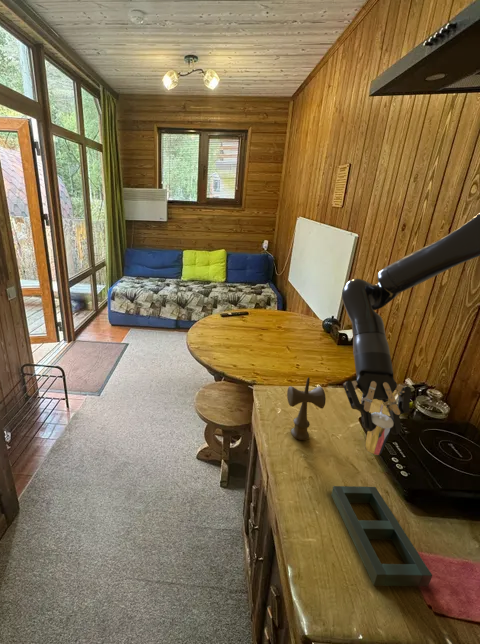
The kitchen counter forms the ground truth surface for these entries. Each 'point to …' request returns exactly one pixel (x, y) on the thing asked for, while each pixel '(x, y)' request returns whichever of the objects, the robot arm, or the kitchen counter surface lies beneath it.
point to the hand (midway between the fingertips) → (382, 432)
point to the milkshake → (378, 432)
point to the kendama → (304, 407)
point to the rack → (386, 528)
